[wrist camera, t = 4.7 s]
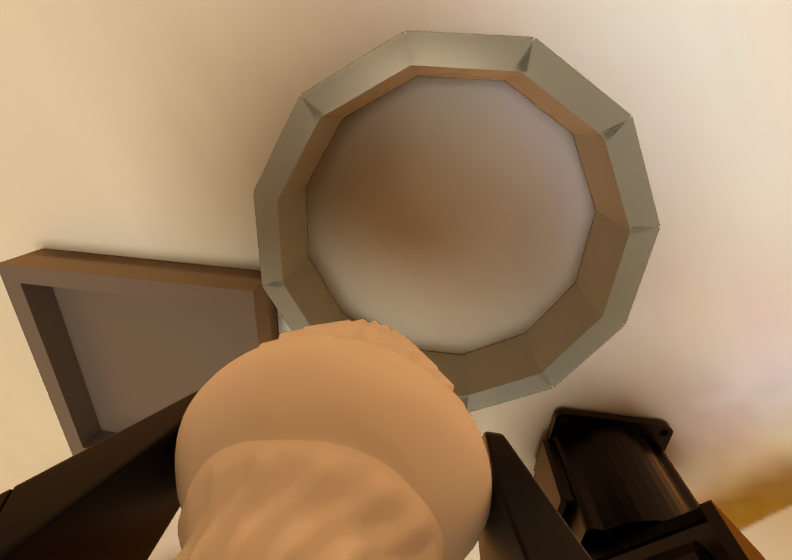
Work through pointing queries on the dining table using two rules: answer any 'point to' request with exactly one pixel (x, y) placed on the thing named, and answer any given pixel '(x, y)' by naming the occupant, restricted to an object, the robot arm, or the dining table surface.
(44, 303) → the tray
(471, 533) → the muffin
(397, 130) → the dining table surface
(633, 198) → the grey polygonal ring
